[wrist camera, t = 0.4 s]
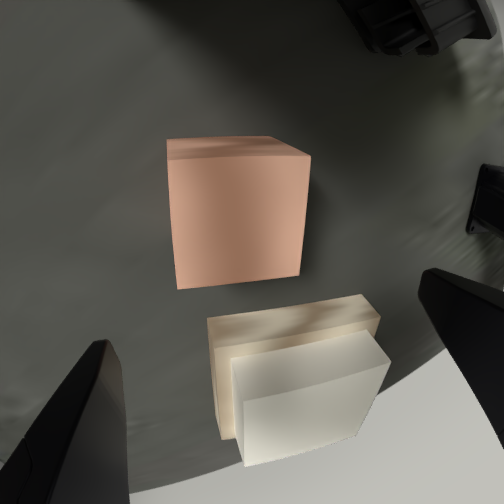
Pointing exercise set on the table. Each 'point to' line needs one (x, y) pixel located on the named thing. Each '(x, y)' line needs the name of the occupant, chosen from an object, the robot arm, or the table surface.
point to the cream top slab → (304, 395)
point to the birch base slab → (277, 339)
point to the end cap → (418, 24)
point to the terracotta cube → (236, 208)
